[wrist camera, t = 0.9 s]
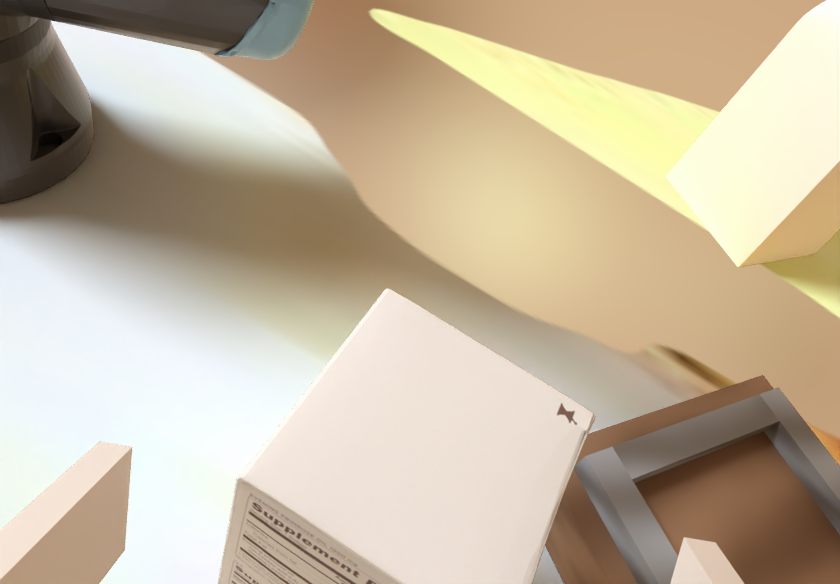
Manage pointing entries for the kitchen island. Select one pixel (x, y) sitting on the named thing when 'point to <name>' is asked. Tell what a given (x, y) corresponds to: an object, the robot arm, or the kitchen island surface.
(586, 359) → the kitchen island surface
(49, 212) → the kitchen island surface
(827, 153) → the milk
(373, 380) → the supplement box
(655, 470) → the display riser
